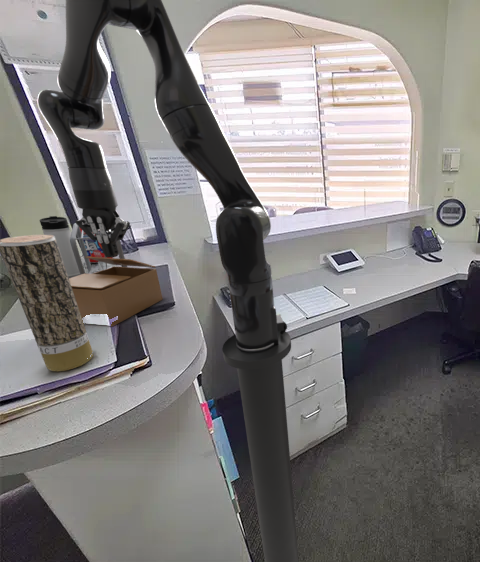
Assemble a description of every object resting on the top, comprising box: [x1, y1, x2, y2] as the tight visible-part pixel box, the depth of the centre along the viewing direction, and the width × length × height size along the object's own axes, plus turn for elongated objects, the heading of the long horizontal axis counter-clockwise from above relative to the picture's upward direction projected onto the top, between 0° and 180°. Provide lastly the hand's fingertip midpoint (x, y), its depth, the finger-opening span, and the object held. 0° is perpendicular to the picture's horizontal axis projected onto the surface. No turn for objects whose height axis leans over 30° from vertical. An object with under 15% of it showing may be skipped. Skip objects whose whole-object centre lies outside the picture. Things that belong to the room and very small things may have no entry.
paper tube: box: [0, 234, 94, 372], centre depth 57 cm, size 7×7×25 cm
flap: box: [85, 257, 156, 268], centre depth 83 cm, size 8×13×1 cm
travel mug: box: [39, 215, 80, 278], centre depth 102 cm, size 6×7×20 cm
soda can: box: [79, 227, 109, 264], centre depth 119 cm, size 8×8×15 cm
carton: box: [69, 265, 164, 328], centre depth 81 cm, size 17×13×10 cm
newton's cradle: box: [70, 222, 128, 275], centre depth 99 cm, size 30×10×18 cm, turn 40°
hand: (112, 256), depth 80 cm, fingers closed
